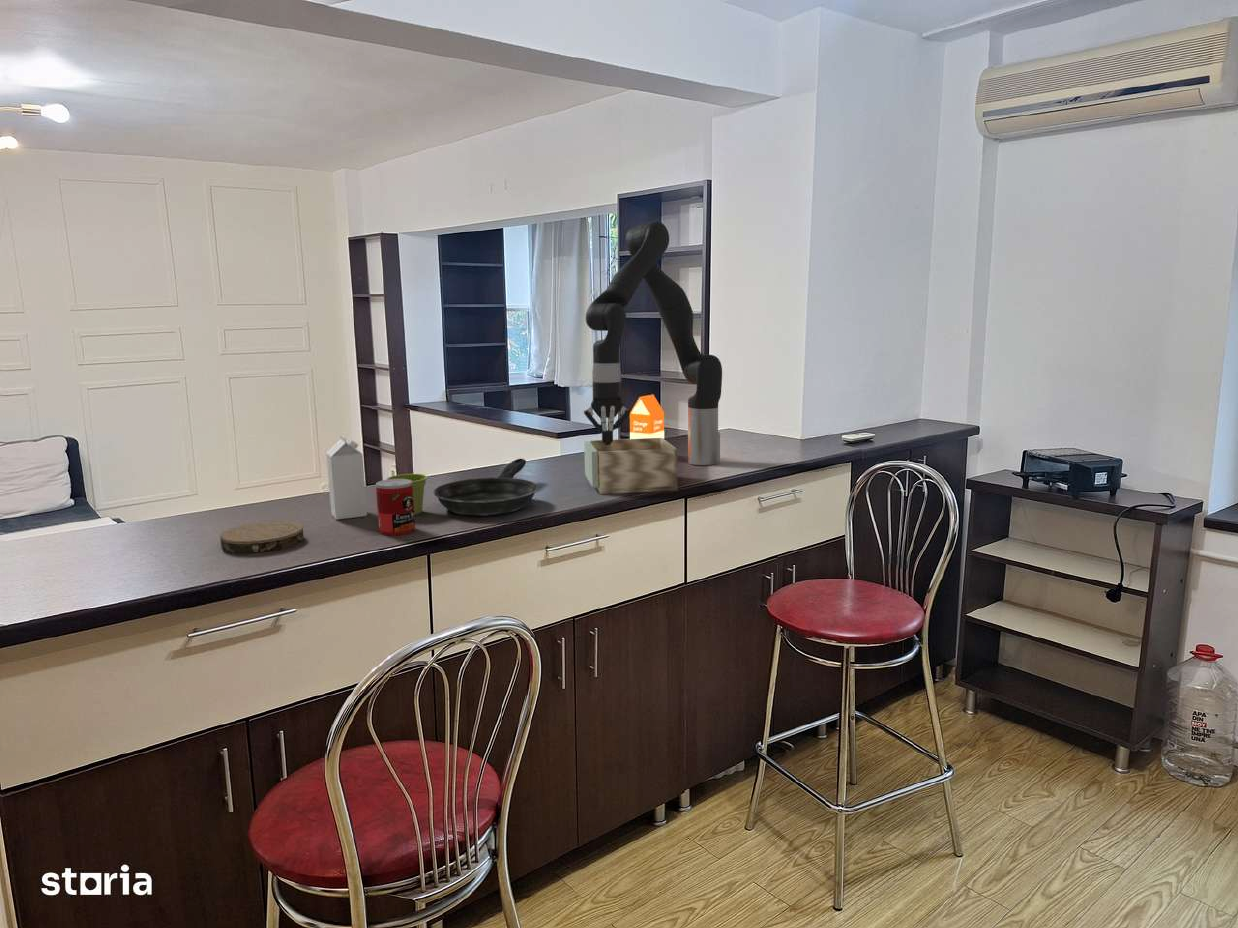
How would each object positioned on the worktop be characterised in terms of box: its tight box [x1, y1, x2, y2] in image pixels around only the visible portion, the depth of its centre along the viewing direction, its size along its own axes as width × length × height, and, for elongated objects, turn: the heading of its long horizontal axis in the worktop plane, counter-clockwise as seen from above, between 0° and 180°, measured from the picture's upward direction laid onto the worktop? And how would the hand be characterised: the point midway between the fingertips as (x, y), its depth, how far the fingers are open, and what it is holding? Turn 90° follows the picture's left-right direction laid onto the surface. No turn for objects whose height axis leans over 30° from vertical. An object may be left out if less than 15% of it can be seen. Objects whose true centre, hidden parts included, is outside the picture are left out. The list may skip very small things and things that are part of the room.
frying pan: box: [433, 458, 539, 517], centre depth 208 cm, size 44×25×7 cm, turn 168°
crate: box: [589, 438, 678, 495], centre depth 222 cm, size 20×20×11 cm
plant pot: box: [385, 473, 428, 516], centre depth 194 cm, size 9×9×9 cm
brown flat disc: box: [219, 520, 305, 555], centre depth 171 cm, size 16×16×3 cm
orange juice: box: [629, 394, 665, 440], centre depth 261 cm, size 8×9×20 cm
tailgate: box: [583, 440, 598, 488], centre depth 220 cm, size 2×17×9 cm, turn 9°
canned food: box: [375, 478, 416, 536], centre depth 178 cm, size 8×8×11 cm
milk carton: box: [325, 434, 368, 520], centre depth 192 cm, size 7×7×19 cm
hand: (607, 444), depth 220 cm, fingers closed
